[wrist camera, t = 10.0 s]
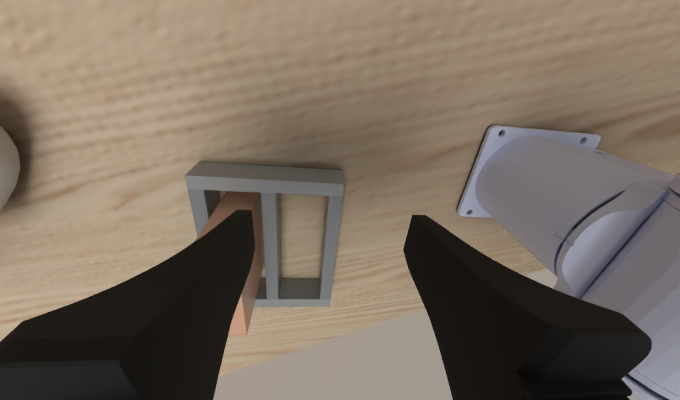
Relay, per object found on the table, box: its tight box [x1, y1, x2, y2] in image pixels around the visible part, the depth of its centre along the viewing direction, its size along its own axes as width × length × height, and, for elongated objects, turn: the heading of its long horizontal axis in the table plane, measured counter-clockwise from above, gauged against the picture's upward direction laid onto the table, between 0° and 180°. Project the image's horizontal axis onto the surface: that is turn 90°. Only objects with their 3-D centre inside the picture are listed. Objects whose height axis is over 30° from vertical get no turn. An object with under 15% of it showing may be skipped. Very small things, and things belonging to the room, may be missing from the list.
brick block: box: [195, 191, 263, 336], centre depth 20 cm, size 2×8×7 cm, turn 174°
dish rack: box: [185, 162, 345, 307], centre depth 22 cm, size 11×13×2 cm
